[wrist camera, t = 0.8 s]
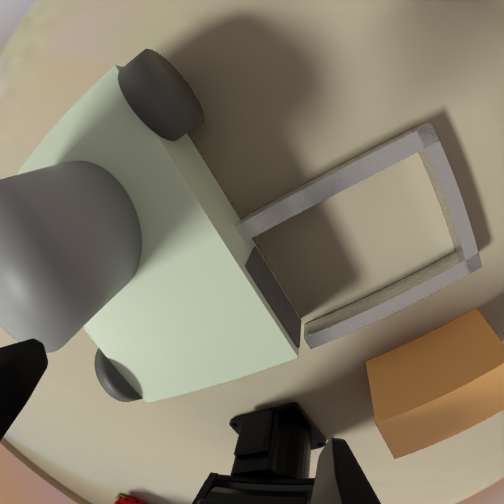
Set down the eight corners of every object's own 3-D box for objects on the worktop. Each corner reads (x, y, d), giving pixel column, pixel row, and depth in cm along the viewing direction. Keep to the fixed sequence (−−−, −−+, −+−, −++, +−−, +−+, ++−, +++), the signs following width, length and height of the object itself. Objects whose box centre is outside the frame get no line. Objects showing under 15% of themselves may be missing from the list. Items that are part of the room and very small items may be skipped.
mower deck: (323, 309, 20) (325, 436, 11) (152, 373, 25) (99, 464, 16) (171, 58, 16) (57, 15, 7) (30, 192, 21) (-69, 233, 12)
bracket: (471, 257, 17) (481, 266, 16) (311, 335, 21) (310, 348, 20) (422, 123, 15) (431, 123, 14) (240, 219, 19) (234, 226, 17)
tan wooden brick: (485, 351, 19) (514, 402, 14) (384, 400, 22) (394, 458, 17) (478, 305, 18) (515, 355, 13) (365, 360, 21) (375, 423, 16)
